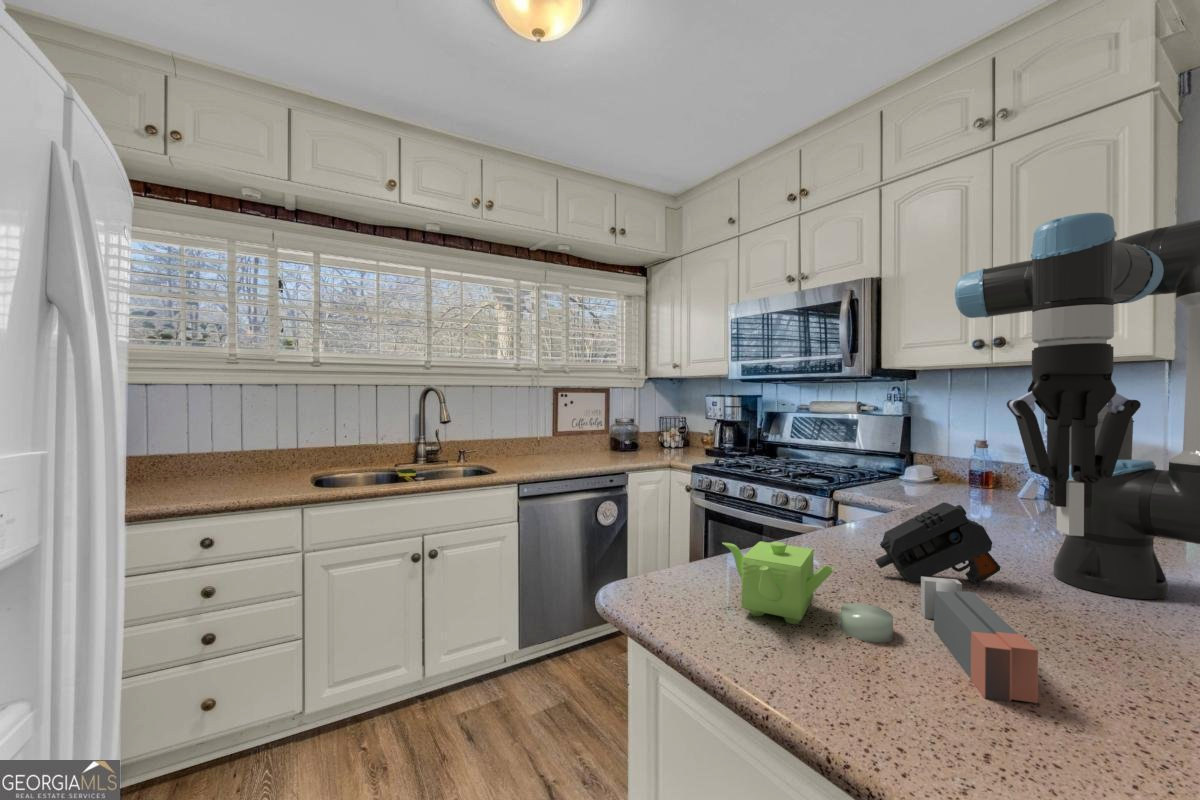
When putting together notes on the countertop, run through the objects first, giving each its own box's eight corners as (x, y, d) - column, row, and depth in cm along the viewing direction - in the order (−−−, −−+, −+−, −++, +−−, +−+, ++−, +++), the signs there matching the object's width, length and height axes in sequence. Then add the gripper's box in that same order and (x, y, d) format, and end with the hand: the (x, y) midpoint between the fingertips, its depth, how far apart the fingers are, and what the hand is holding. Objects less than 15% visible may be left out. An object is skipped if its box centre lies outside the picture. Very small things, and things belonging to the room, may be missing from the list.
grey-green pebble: (886, 625, 80) (886, 606, 80) (898, 646, 74) (898, 625, 74) (837, 619, 82) (837, 601, 82) (844, 640, 76) (844, 619, 76)
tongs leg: (953, 630, 77) (953, 589, 77) (973, 632, 77) (974, 591, 76) (1010, 699, 60) (1011, 647, 60) (1037, 703, 59) (1038, 650, 59)
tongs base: (920, 613, 84) (920, 572, 84) (957, 616, 83) (957, 575, 83) (984, 698, 61) (984, 642, 61) (1037, 705, 59) (1037, 648, 59)
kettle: (762, 636, 76) (761, 560, 76) (716, 599, 90) (716, 535, 90) (847, 623, 80) (847, 552, 80) (791, 590, 94) (790, 529, 94)
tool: (1014, 574, 94) (968, 501, 95) (912, 619, 97) (870, 547, 98) (995, 563, 100) (953, 494, 101) (900, 605, 103) (860, 538, 104)
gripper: (1115, 344, 66) (1114, 528, 67) (995, 348, 70) (995, 522, 70) (1160, 339, 59) (1158, 545, 59) (1024, 343, 63) (1023, 537, 63)
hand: (1069, 532), depth 65 cm, fingers closed
